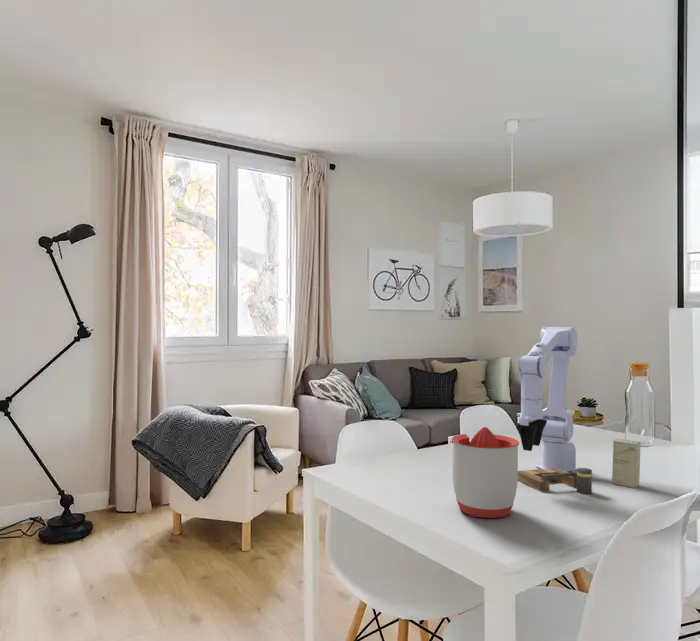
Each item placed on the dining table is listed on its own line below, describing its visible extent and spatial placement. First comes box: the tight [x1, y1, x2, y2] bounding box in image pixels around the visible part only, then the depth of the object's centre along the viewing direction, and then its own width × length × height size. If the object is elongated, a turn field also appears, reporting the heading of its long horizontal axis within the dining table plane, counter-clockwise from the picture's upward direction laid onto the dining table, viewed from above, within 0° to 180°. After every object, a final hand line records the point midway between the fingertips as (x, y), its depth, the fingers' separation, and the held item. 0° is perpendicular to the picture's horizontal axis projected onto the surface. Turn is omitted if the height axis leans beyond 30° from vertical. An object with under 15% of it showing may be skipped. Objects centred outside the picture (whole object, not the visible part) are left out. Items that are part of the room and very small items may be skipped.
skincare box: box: [611, 438, 642, 489], centre depth 154 cm, size 6×4×12 cm
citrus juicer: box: [451, 426, 520, 519], centre depth 132 cm, size 16×17×20 cm
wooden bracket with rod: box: [517, 468, 577, 492], centre depth 154 cm, size 14×11×4 cm
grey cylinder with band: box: [576, 467, 593, 495], centre depth 147 cm, size 4×4×6 cm
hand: (531, 447), depth 153 cm, fingers open, 7 cm apart
